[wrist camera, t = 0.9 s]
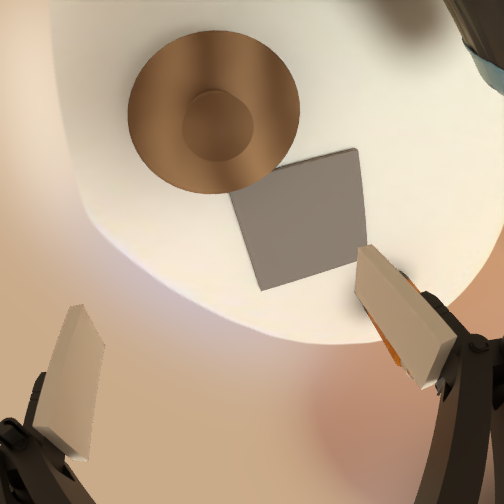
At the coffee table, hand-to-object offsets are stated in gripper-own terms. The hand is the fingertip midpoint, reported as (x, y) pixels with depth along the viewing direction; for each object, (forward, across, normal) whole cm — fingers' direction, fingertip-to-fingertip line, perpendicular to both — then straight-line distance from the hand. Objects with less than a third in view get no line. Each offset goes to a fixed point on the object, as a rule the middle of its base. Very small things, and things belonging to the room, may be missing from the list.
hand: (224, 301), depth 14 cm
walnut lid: (+17, +2, +7) cm, 19 cm away
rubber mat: (+23, +12, -9) cm, 28 cm away
